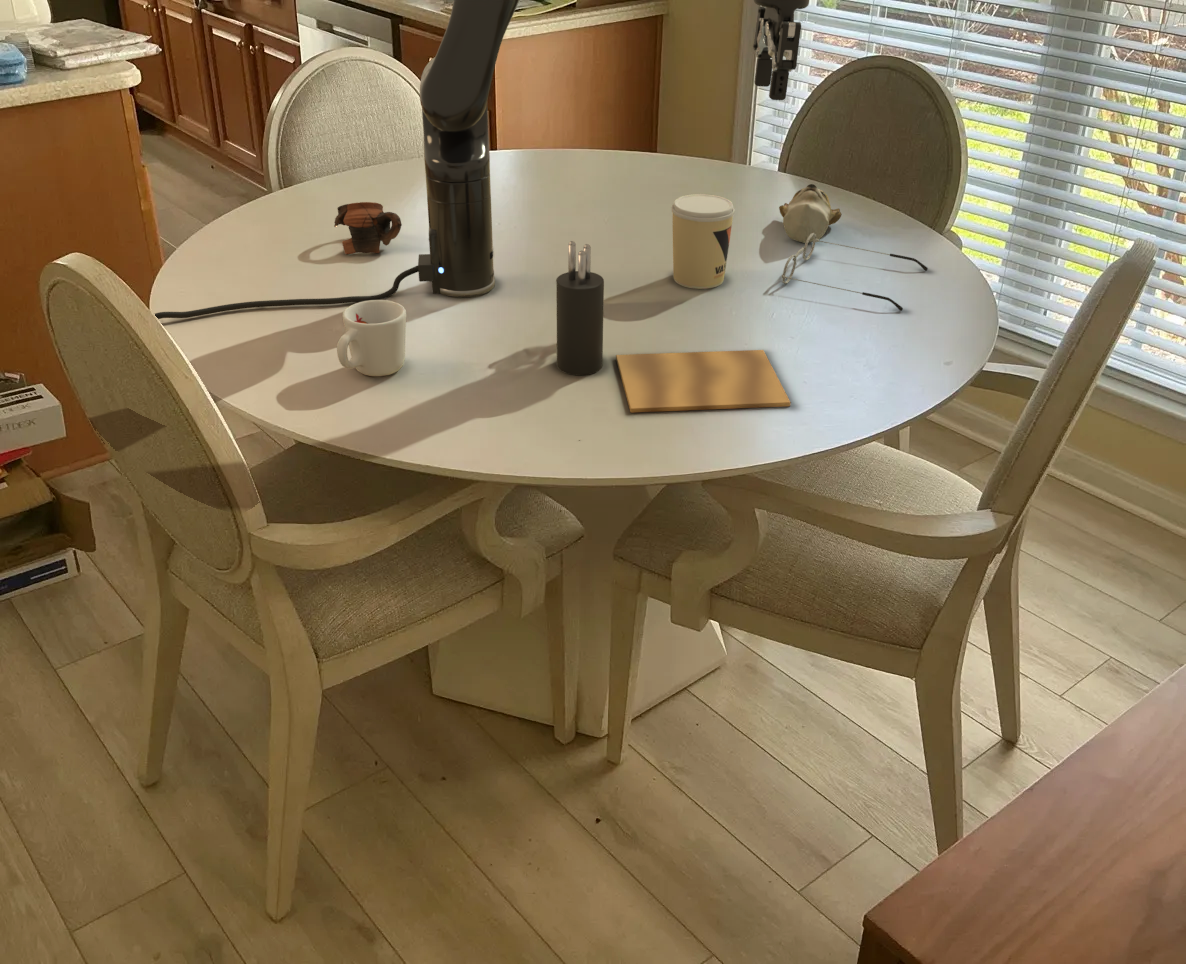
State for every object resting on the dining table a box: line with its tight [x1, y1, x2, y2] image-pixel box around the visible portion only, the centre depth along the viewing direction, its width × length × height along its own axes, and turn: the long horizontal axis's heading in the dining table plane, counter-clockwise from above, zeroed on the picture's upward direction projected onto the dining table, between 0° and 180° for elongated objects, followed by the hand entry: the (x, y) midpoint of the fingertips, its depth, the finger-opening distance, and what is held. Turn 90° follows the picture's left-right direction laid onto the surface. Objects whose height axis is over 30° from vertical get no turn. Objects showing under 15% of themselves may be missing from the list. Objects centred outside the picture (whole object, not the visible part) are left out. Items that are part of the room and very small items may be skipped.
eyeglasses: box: [781, 233, 929, 312], centre depth 178 cm, size 18×19×4 cm
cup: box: [336, 299, 407, 377], centre depth 148 cm, size 11×8×8 cm
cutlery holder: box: [555, 240, 605, 376], centre depth 148 cm, size 6×6×17 cm
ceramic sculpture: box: [778, 183, 843, 244], centre depth 194 cm, size 11×9×15 cm
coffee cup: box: [671, 193, 736, 290], centre depth 175 cm, size 9×9×12 cm
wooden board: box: [615, 349, 792, 414], centre depth 149 cm, size 20×15×1 cm
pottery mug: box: [333, 201, 403, 255], centre depth 187 cm, size 12×10×8 cm
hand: (769, 92), depth 163 cm, fingers open, 8 cm apart
